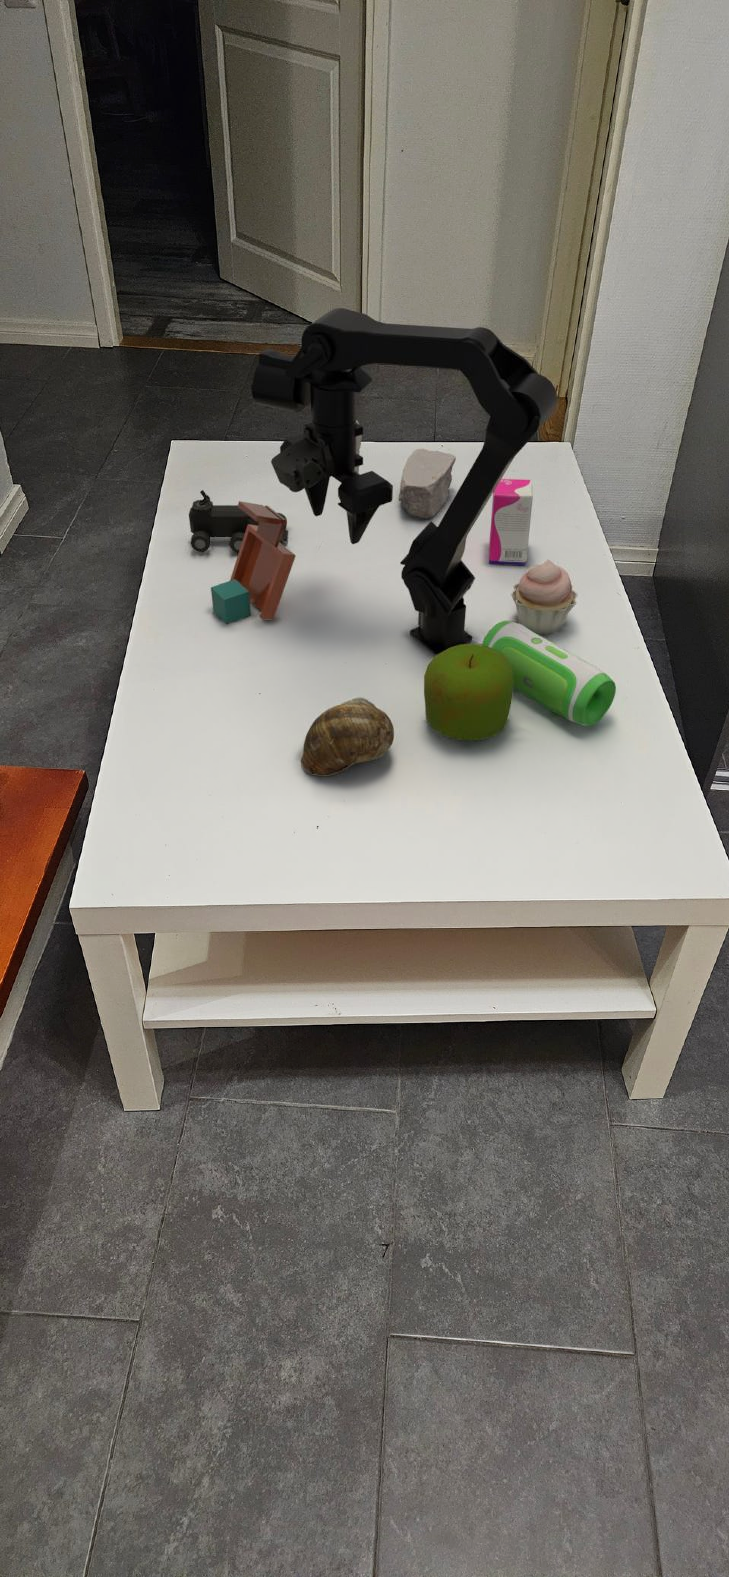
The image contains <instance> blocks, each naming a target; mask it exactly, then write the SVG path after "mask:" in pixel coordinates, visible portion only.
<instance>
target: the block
mask: <svg viewBox="0 0 729 1577" xmlns="http://www.w3.org/2000/svg"><path fill="white" fill-rule="evenodd" d="M210 594H211V602H212V610H213V613H215V614H216V616H218V617H219V618H220V619H221V620H222V621H223V622H224V623H225V624H230V623H233V622H236V621H238V620H242V619H244V618H247V617H250V616H251V615H252V610H251V602H250V598H249V591H248V590H247V589H246V588H245V587H243V586H242V585H241V584H240V583H239V582H238V581H237V580H236V579H234V580H231V581H230V580H227V581H225V582H222V583H219V584H217V585H213V586H211V587H210Z"/></svg>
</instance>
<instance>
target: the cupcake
mask: <svg viewBox="0 0 729 1577" xmlns="http://www.w3.org/2000/svg"><path fill="white" fill-rule="evenodd" d="M512 586H513V589H514V590H512V592H511V593H510V595H511V597H512V600H513V602H514V604H515V608H516V613H517V619H518V620H517V621H518V624H521V625H524V626H526V627H527V628H528V629H530V630H531V631H533V632H534V633H536V634H538V635H551V634H555V633H556V632H558V631H560V630H561V629H562V628H563V626H564V624H565V623H566V620H567V618H568V616H569V613H570V612H571V611H572V609H573V608H574V607H575V606H576V605H577V600H576V599H577V598H578V596H579V594H578V593H577V591H575V590H573V585H572V580H571V578H570V575H569V573H568V571H567V570H566V569H564V568H563V567H562V566H559V565H556V564H555V563H554V562H552V561H551V560H550V559H546V560H545V561H544V562H543V563H540V564H535V565H532V566H531V567H529V569H528V570H527V572H525V573H524V574H523V575H521V577H520V579H519V582H518V583H515V584H514V583H513V585H512Z"/></svg>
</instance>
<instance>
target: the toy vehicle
mask: <svg viewBox="0 0 729 1577" xmlns="http://www.w3.org/2000/svg"><path fill="white" fill-rule="evenodd" d="M199 492H200V495H201V496H202V498H203V499H197V500H195V501H192V506H191V508H190V509H189V512H188V519H189V528H190V529H189V530H190V533H192V535H191V539H190V546H191V548H192V550H194V551H195V552H198V553H205V552H207V551H208V550H209V549H210V547H211V542H212V538H230V540H229V548H230V550H231V551H232V552H233V553H235V554H237V555H238V554H239V550H240V547H241V544H242V541H243V538H244V535H245V532H246V528H247V525H248V524H249V525H256V526H259V523H260V522H259V521H255V520H254V519H252V518H251V517H250V516H249V515H248V514H246V513H245V512H244V511H243V510H241V509H240V508H239V507H238V504H237V505H236V504H235V505H233V504H229V505H227V504H225V505H224V504H223V505H221V504H217V505H216V504H214V502H213V501H212V500H211V497H210V496H209V495H208V494H207V493H206V492H205V490H204V489H202V490H200V491H199ZM277 513H278V514H279V515H280V516H282V517H283V518H284V519H286V520H287V521H286V524H285V527H284V530H283V533H282V536H281V539H280V543H281V544H282V545H283V546H285V542H287V541H288V537H289V530H287V526H288V518H287V517H286V516H285V514H283V513H282V512H277Z"/></svg>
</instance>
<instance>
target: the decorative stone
mask: <svg viewBox="0 0 729 1577" xmlns="http://www.w3.org/2000/svg"><path fill="white" fill-rule="evenodd" d="M456 459H457V457H456V456H455V455H454V454H452V453H446V452H442V451H439V450H429V449H425V448H416V449H414V450H413V451H412V453H411V454H410V455H409V456H408V457H407V459H406V461H405V464H404V466H403V470H402V474H401V479H400V486H399V487H400V489H399V495H398V501H399V502H401V505H402V506H403V508H404V509H405V511H406V513H407V515H408V516H410V517H411V519H415V520H416V519H417V520H430V519H431V518H433V517H434V516H435V515H436V514H437V512H438V511H439V509H440V508H441V507H442V506H443V505H444V504H445V503H446V501H447V500H448V499H449V497H450V493H449V489H450V487H451V485H452V481H453V475H452V471H453V467H454V465H455V463H456Z"/></svg>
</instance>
